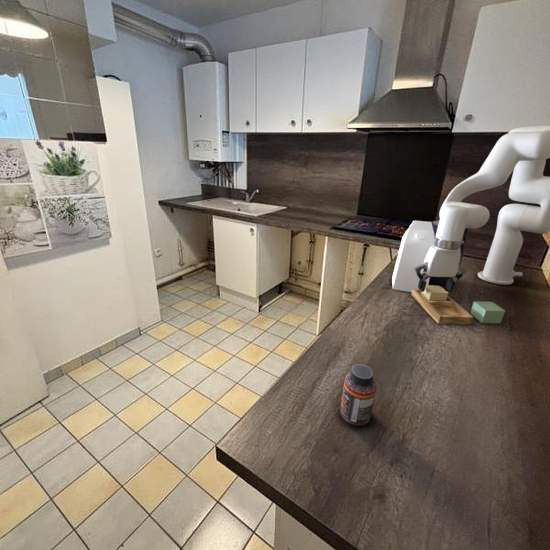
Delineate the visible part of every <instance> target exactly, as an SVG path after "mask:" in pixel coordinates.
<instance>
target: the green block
mask: <svg viewBox="0 0 550 550" xmlns="http://www.w3.org/2000/svg"><path fill="white" fill-rule="evenodd" d="M470 309H471V310H470V312H469V314H471V315H472V316H473V317H474V318H475V319H476V320H477V321H478V322H480V323H481V324H501V323H502V321H503V318H504V315H505V314H506V310H505V309H503V308H502V307H500V306H499V305H498V304H496V303H495V302H493V301H476V300H475V301H473V302H472V306H471V308H470Z"/></svg>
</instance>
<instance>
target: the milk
mask: <svg viewBox="0 0 550 550" xmlns="http://www.w3.org/2000/svg"><path fill="white" fill-rule="evenodd" d="M431 222H432V221H425V220H424V221H423V220H413V221H412V222H411V224H410V225H409V227H408V228H407V229H406V230H405V232H404V233H403V235H402V237H401V242H400V244H399V249H398V253H397V257H396V261H395V265H394V269H393V272H392V277H391V283H392V290H395V291H400V292H401V291H402V292H409V293H412V289H419V288H418V284H419V280H420V279H419V277H418V276H417V275H416V272H415V269H414V268H415V267H417V266H419V265H422V264H424V261H425V258H426V255H427V253H428V250H429V248H430V247H431V246H433V245H434V241H435V237H434V231H433V227H432V223H431ZM420 273H421V274H422V273H423V271H422V270H421V271H420ZM429 279H430V277H429V278H428V279H426V280H425V281H426V285H430V284H429V283H430V282H429Z"/></svg>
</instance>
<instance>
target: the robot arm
mask: <svg viewBox="0 0 550 550" xmlns="http://www.w3.org/2000/svg"><path fill="white" fill-rule="evenodd" d="M547 159H550V124H549V125H547V124H546V125H526V126H519V127H515V128H513V129H511V130H509V131H508V133H506V134H504V135H502V136H501V137H499V139H498V140H497V141H496V143H495V145H494V146H493V148H492V149H491V151H490V152H489V154H488V156H487V158H486V159H485V161H484V162H483V163H482V165H481V167H480V169H479V170H478V171H477V172H476V173H475V174H472V175H471V176H469V177H467V178H466V179H464V180H462V181H461V182H459V183H458V184H457V185H456V186H455V187H453V189H451V190H450V192H449V193H448V194H447V196H446V198H445V199H444V201H443V203H442V204H441V207H440V209H439V214H438V217H439V220H440V221H439V220H438V221H439V225H438V229H437V233H436V237H435V241H434V245H433V246H431V247H430V248H429V250H428V253H427V255H426V258H425V261H424V264H422V265H419V266H417V267H415V268H414V269H415V272H416V275H417V276H418V277H419V279H420V280H419V284H418V288H419V290H421V291H422V292H424V291H425V287H426V281H425V280H426V279H428V278H429V277H430V276H431V277H450V279H448V280H447V283H446V284H445V289H444V290H445V291H447V292H448V293H453V291H454V289H455V285H456V283H457V282H458V281H459V280H460V279H461V278H462V277H463V275H464V274H466V272H467V269H466V268H465V267H463V266H462V265H460V266H459V263H460V255H461V246H462V245H463V244H464V241H463V238H464V234H465V230H466V229H465V228H468V229H472V230H474V229H480V228H481V227H483V226H485V225H486V224H487V223H488V221H489V219H490V211H489V209H488V208H487V207H486V206H483V205H481V204H475V203H470V202H469V203H468V202H462V201H463V200H464V199H466V198H468V197H469V196H470V195H473V194H475V193H478V192H482V191H486V190H490V189H492V188H493V189H494V188H497V187H500V186H502V185H504V184H505V183H506V182H507V180H508V179H509V177H510V176H511V180H510V184H509V189H508V198H509V199H510V200H511V201H515V202H521V203H527V204H521V203H509V204H506V205H503V206H502V207H501V208H500V210H499V212H498V215H497V221H496V222H497V223H496V228H495V229H496V230H495V233H494V236H493V239H492V242H491V245H490V248H489V251H488V255H487V257H486V261H485V264H484V267H483V270H481V271H478V273H477V277H478V278H479V279H481V280H483V281H485V282H489V283H492V284H496V285H506V286H508V285H512V284H514V281H515V280H514V278H515V277H518V278H520V277H523V275H524V274H523V272H522V271H515V270H514V268H515V265H516V262H517V260H518V257H519V254H520V252H521V249H522V246H523V242H524V238H523V235H522V233H521V231H523V232H528V233H533V234H538V235H539V234H540V235H543V234H548V233H550V176H547V175H546V176H545V175H544V170H545V166H546V163H547V161H546V160H547ZM511 174H512V175H511ZM528 203H529V204H534V205H529V204H528ZM535 204H537V205H540V206H536V205H535ZM421 270H422V271H423V273H422V274H421V273H420V271H421Z"/></svg>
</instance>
